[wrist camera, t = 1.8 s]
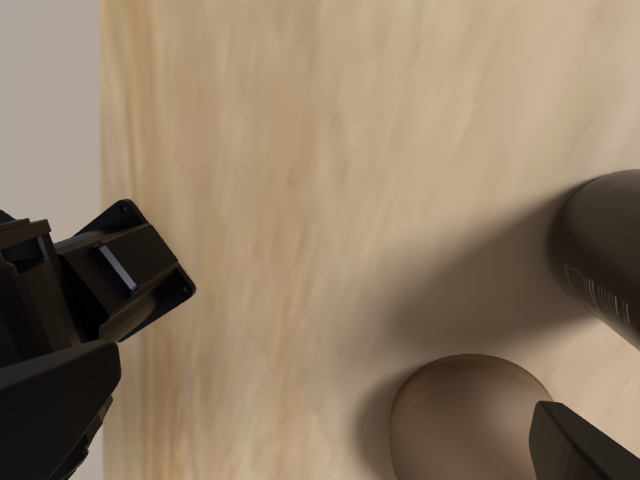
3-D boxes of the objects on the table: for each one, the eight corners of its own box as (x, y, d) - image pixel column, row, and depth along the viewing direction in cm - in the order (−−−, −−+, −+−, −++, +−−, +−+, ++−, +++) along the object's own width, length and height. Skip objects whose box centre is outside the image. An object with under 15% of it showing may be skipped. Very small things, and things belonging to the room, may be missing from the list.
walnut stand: (440, 509, 24) (447, 550, 22) (360, 396, 23) (358, 427, 21) (586, 454, 22) (612, 494, 19) (507, 326, 21) (523, 351, 18)
